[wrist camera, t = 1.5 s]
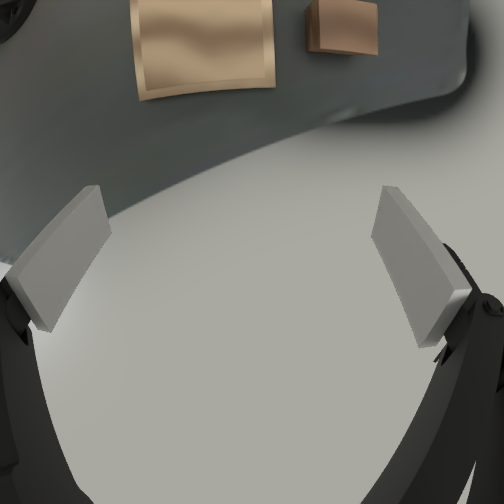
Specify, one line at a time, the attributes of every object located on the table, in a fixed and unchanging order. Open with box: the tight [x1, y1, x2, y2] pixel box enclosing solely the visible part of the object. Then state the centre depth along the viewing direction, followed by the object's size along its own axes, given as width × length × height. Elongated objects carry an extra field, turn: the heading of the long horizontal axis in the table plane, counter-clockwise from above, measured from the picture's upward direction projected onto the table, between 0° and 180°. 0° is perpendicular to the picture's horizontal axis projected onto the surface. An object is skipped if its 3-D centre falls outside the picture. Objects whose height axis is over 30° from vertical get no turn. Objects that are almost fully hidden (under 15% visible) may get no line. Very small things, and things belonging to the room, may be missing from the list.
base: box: [130, 0, 276, 101], centre depth 23 cm, size 13×14×3 cm
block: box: [305, 0, 378, 55], centre depth 20 cm, size 5×5×8 cm
